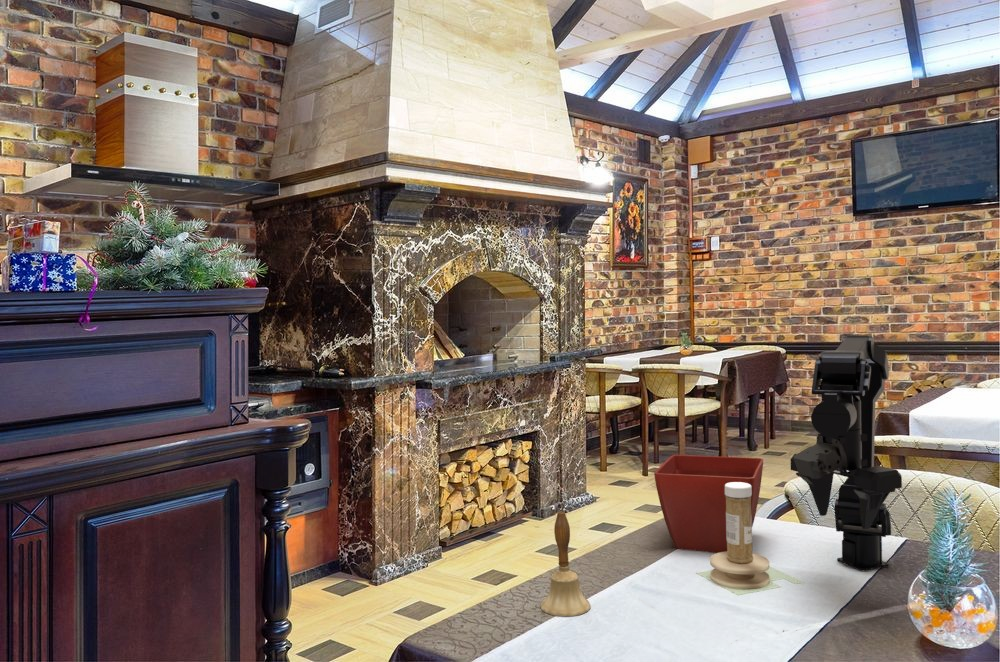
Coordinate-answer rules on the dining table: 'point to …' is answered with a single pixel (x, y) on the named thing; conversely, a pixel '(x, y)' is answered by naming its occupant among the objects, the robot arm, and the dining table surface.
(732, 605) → the dining table surface
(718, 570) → the bobbin
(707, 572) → the notched board
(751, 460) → the plant pot
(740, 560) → the sprinkles bottle
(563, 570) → the hand bell
